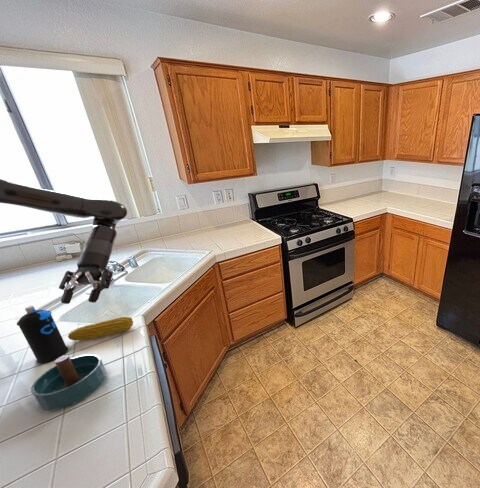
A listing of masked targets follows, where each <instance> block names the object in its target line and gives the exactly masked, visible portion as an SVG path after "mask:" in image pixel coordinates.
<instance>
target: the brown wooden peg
mask: <svg viewBox="0 0 480 488" xmlns="http://www.w3.org/2000/svg"><path fill="white" fill-rule="evenodd" d="M70 359H71V358H70V356H69V355H68V354H64V355H63V356H61V357H59V358H57V359H56V360H54V364H55V366H57V368H58V370H59V372H60V374H61V376H62V378H63V380H64V382H65V385H64V386H63V388H62V389H65V388H67V387H69V386H71V385H73V384H75V383H77V382H78V381H80V380H82V379H83V378H85V377H79V376H78V374H77V372H76V370H75V368H74V366H73V364H72V362H71V360H70Z"/></svg>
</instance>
